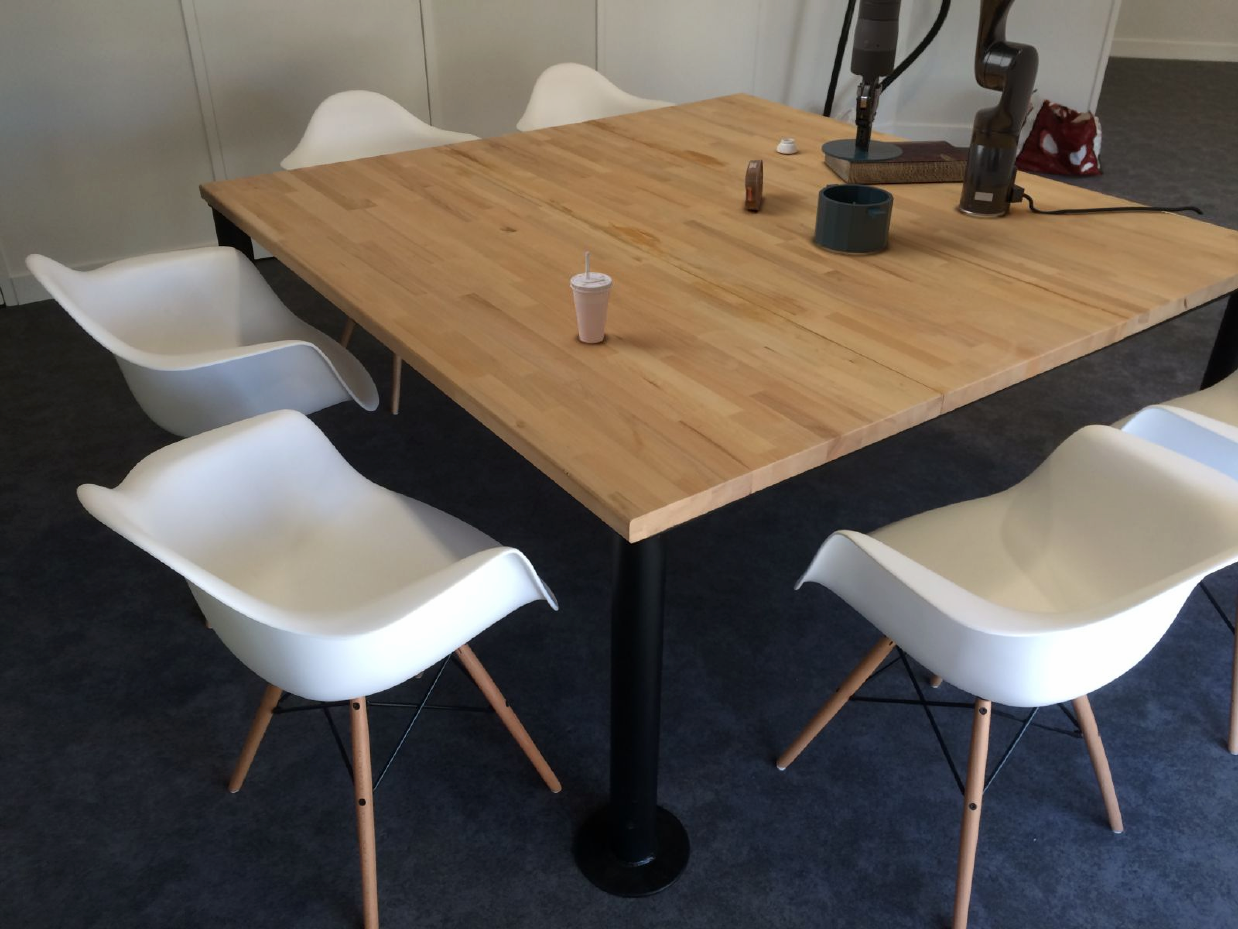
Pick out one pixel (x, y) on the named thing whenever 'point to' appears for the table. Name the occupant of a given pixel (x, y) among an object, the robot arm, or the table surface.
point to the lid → (862, 151)
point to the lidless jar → (787, 146)
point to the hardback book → (907, 165)
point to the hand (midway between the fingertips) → (862, 144)
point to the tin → (754, 184)
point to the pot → (853, 218)
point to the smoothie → (591, 303)
